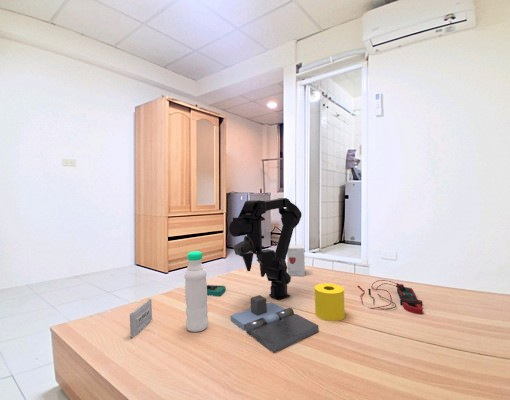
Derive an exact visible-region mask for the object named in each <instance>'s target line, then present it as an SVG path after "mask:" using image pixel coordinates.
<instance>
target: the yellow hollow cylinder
mask: <svg viewBox="0 0 510 400" xmlns="http://www.w3.org/2000/svg"><path fill="white" fill-rule="evenodd" d="M314 314H315V316H316V317H317V318H319V319H320V320H323V321H327V322H338V321H342V320H343V319H345V316H346V315H345V289H344V287H343V286H342V285H340V284H335V283H328V282H327V283H326V282H325V283H320V284H319V283H318V284H316V285H315V286H314Z"/></svg>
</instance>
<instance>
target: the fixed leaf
mask: <svg viewBox="0 0 510 400" xmlns="http://www.w3.org/2000/svg"><path fill="white" fill-rule="evenodd" d="M276 314H277V315H278V316H279V321H277V322H274V323H271V324H269V325H267V323H266V320H265V319H264V318H260V319H257V320H255V321H252V322H249V323H247V324H246V326H245V327H246V330H245V331H246V333H247V334H248V335H250V336H251V337H252V338H253V339H255V341H257V342H258V343H260V344H261V345H263V346H264V347H265V348H267V350H269V351H270V352H272V353H274V354H275V353H277V352H279V351H280V350H284V349H286V348H287V347H289V346H291V345H293V344H296V343H298V342H300V341H302V340H304V339H306V338H308V337H310V336H312V335H314V334H316V333H319V332H320V330H319V324H317V323H315V322H313V321H311V320H309V319H307V318H305V317H303V316H302V315H299V314H297V313H295V311H294V309H293V308H292V307H288V308H285V310H282V311H279V312H277V313H276Z"/></svg>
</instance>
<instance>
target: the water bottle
mask: <svg viewBox="0 0 510 400" xmlns="http://www.w3.org/2000/svg"><path fill="white" fill-rule="evenodd" d="M202 261H203V252H202V251H198V250H197V251H196V250H195V251H190V252H188V253H187V262H188V265H187V267H186V270H185V272H184V279H185V283H184V284H185V285H184V290H185V291H184V294H185V295H184V297H185V304H186V306H185V307H186V308H185V317H186V320H185V322H186V329H187V330H188V331H189V332H192V333H193V332H194V333H196V332H197V333H198V332H201V331H203V330H205V329H207V328H208V326H209V316H208V314H209V313H208V310H209V309H208V295H207V285H208V284H207V283H208V282H207V271H206V269H205V267H204V265H203V264H202Z"/></svg>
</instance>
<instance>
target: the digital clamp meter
mask: <svg viewBox="0 0 510 400" xmlns="http://www.w3.org/2000/svg"><path fill="white" fill-rule="evenodd" d="M381 281H382V282H383V281H385V282H390V283H381V284H380V285H378V286H377V287H376V288H374V287H373V285H374V284H375V283H377V282H381ZM382 285H390V286H393V287H396V288H397V289H396V293H397V295H398V297H399V299H400V300H399V302H400V306H402V308H403V309H404V310H405V311H407V312H409V313H410V314H413V315H414V314H415V315H423V300H421V299H418V297H417V295H416V293H415V291H414V289H413V288H412V287H406V286H405V285H404V284H403V283H398V282H393V281H391V280H386V279H379V280H376V281H374V282H373V283H372V284H371V288H370V287H369V288H368V289H367V290H368V295H369V296H370V297H371V298H373V299H375V297H374V296H372V294H371V291H372V289H373V290H375V291H385V292H387V293H388V294H389V297H390V299H388V298H386V297H383V296H382V295H380V294H379V293H377V295H378V296H379V297H381V298H382V299H385V300H387V301H389V302H390V303H389V304H387V305H383V306H377V307H369V306H368V307H367V309H370V310H372V309H374V310H375V309H379V310H383V308H384V307H386V310H391V309H395V308H397V304H396V302H393V300H392V295H391V293H390V292H389V291H388V290H387V289H380V288H379V287H381V286H382ZM357 288H358V289H359V290H361V291H362V292H363V293H361V294H360V295H359V297H360V300H361V304H362V305H364V302H363V298H362V295H364V294H365V290H364V289H363V288H362V287H361V285H357ZM378 288H379V289H378ZM372 303H373V304H375V300H373V302H372ZM392 303H393V305H395V306H394V307H393V306H392V307H388V306H390V305H391V304H392ZM387 307H388V308H387Z"/></svg>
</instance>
